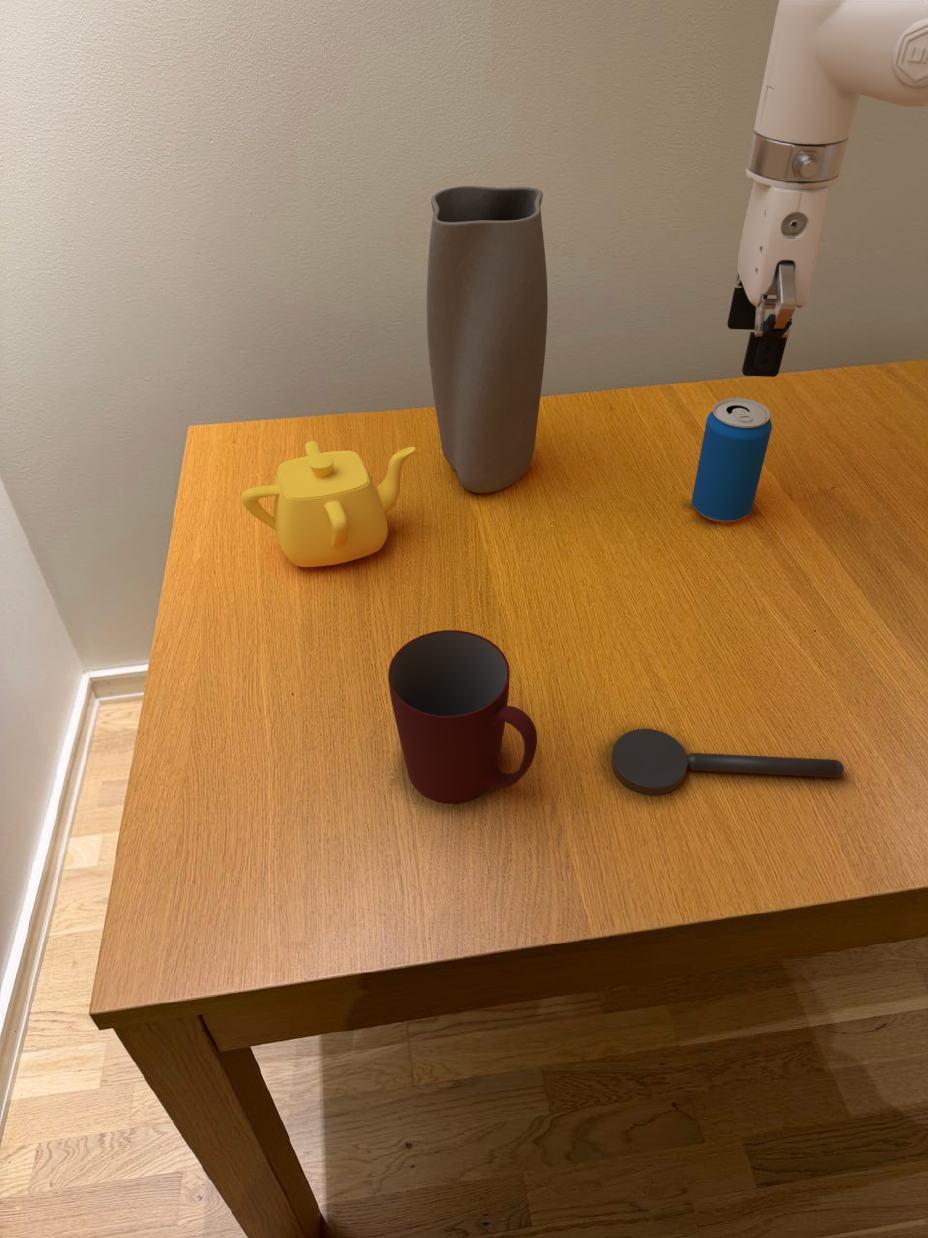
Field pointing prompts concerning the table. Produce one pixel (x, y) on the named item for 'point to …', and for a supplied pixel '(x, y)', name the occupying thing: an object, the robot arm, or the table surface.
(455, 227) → the vase
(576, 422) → the table surface
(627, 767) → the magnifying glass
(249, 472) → the table surface
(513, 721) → the mug
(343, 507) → the teapot
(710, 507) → the beverage can
